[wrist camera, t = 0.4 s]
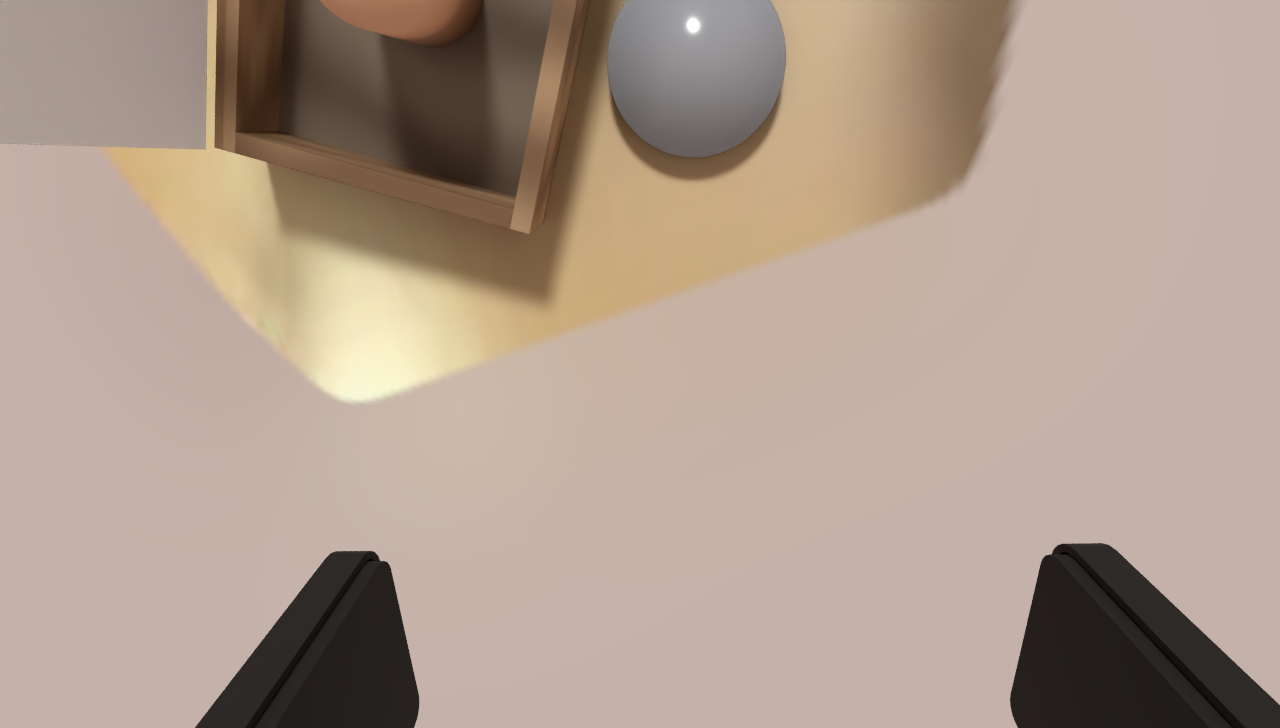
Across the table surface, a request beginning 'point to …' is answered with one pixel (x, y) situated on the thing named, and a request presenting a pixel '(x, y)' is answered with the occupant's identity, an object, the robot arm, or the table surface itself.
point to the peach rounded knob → (411, 18)
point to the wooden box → (404, 102)
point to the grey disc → (696, 71)
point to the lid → (103, 73)
